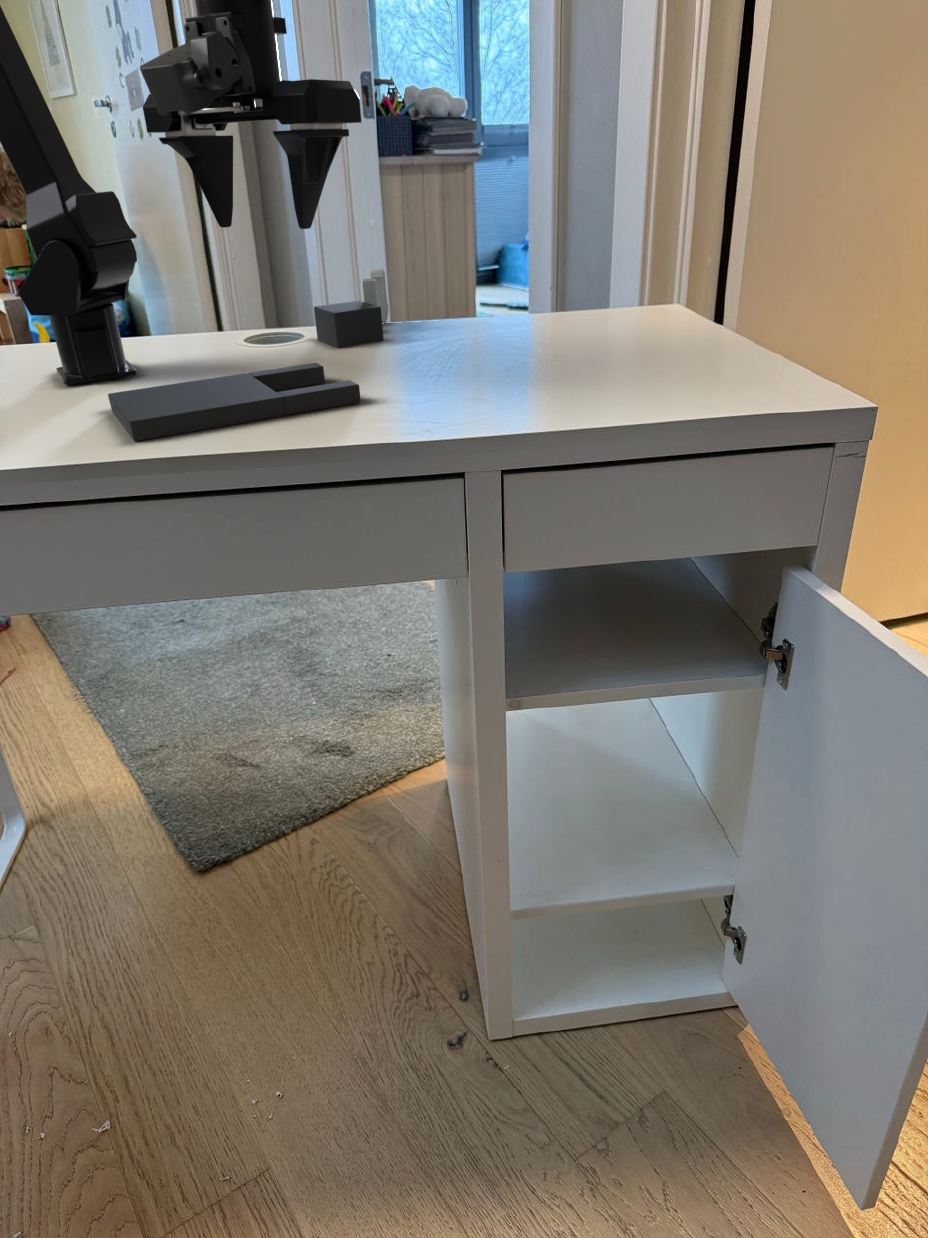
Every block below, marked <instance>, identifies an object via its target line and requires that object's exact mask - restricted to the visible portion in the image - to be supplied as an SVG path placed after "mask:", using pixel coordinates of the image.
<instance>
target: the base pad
mask: <svg viewBox="0 0 928 1238" xmlns="http://www.w3.org/2000/svg"><path fill="white" fill-rule="evenodd" d="M325 379H326V378H325V369H324V365H322V364H320V363H317V362H311V363H305V364H298V365H292V366H285V367H278V368H271V369H264V370H258V371H251V372H245V373H237V374H232V375H223V376H218V377H211V378H204V379H197V380H191V381H184V382H176V383H171V384H164V385H163V384H162V385H156V386H150V387H143V388H136V389H130V390H124V391H123V390H122V391H117V392H110V393H108V394H107V397H108V400H109V405H110V409H111V412H112V414H114V416H115V417H116V419H117V420H118V421H119V423H120V424H121V426H122V427H123V428H124V429H125V431H126V432H127V434H128V435H129V436H130V438H131V439H132V440H133V442H140V441H141V442H142V441H145V440H146V441H147V440H153V439H157V438H158V439H159V438H163V437H169V436H176V435H181V434H182V435H183V434H187V433H193V432H198V431H204V430H210V429H216V428H222V427H227V426H234V425H240V424H244V423H245V424H246V423H250V422H251V423H252V422H256V421H257V422H258V421H262V420H268V419H273V418H279V417H285V416H291V415H292V416H293V415H297V414H303V413H309V412H315V411H320V410H326V409H331V408H338V407H343V406H350V405H355V404H361V402H362V401H361V400H362V399H361V392H360V391H361V390H360V384H359V383H357V382H355V381H353V380H344V381H338V382H332V383H326V380H325Z"/></svg>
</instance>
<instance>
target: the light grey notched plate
mask: <svg viewBox="0 0 928 1238" xmlns="http://www.w3.org/2000/svg"><path fill="white" fill-rule="evenodd" d="M361 283H362V292H363V302H365V303H369V304H372V305H376V306H380V307H381V315H382V324H386V323H387V321H388V317H389V304H388V296H387V285H386V284H387V283H386V273H385V270H384V269H383V268H374V269H371V271H370V278H363V280H362V282H361Z"/></svg>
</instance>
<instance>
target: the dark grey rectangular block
mask: <svg viewBox="0 0 928 1238" xmlns="http://www.w3.org/2000/svg"><path fill="white" fill-rule="evenodd" d="M313 311H314V321H315V330H316V338H317V341H319V342H321V343H324V344H327V345H328V346H329V345H330V346H332V347H334V348H337V349H341V348H346V347H354V346H360V345H366V344H371V343H372V344H373V343H378V342H383V341H384V329H383V328H384V327H383V323H382V315H381V307H380V306H376V305H372V304H369V303H365V302H364V301H360V300H353V301H348V302H347V301H346V302H339V303H331V304H324V305H315V306H313Z"/></svg>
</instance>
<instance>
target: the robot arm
mask: <svg viewBox="0 0 928 1238" xmlns="http://www.w3.org/2000/svg"><path fill="white" fill-rule="evenodd" d="M194 5H195V12H196V16H192V17H186V18H185V23H184V26H183V29H184V30H183V31H184V36H185V43H184V44H183V43H182V44H181V45H179V46H177V47H174V48H172V49H170V50H167V51H166V52H164V53H162V54H160V55H158V56H156V57H154V58H152V59H150V60H148V61H146V62H145V63H143V64H140V66H139V70H140V73H141V75H142V78H143V80H144V82H145V84H146V86H147V89H148V92H149V94H148V96H147V97H146V99H145V101H144V103H143V105H142V111H143V112H142V113H143V117H144V122H145V127H146V132H147V134H155V133H156V134H160V133H163V134H164V133H165V134H164V135H165V137H161V136H160V137H158V140H159V142H160V143H161V144H162V145H168V146H169V147H170V148H171V149H173V150H174V151H175V152H176V153H177V154H178V155H180V156H181V157H182V158H184V161H185V162H186V163H187V165H188V166H189V168H190V170H191V172H192V173H193V175H194V177H195V179H196V181H197V183H198V185H199V186H200V189H201V191H202V193H203V195H204V197H205V199H206V201H207V204H208V206H209V208H210V210H211V212H212V214H213V217H214V218H215V220H216V222H217V224H218V227H220V228H223V229H224V228H230V227H232V225H233V213H234V135H217V132H220V131H221V132H224V131H225V130H226V128H227V125H228V124H235V123H249V122H264V121H265V122H266V121H278V122H279V123H280V125H281V126H283V125H284V126H285V125H287V126H288V125H289V129H290V130H288V129H287V130H273V131H272V134H273V136H274V137H275V140H276V141H277V142H278V145H280V147H281V148H282V150H283V152H284V153H285V155H286V157H287V165H288V171H289V179H290V185H291V193H292V199H293V207H294V212H295V216H296V221H297V224H298V228H299V229H300V230H308V229H311V227H312V226H313V222H314V220H315V215H316V214H317V209H318V206H319V202H320V200H321V197H322V194H323V190H324V187H325V183H326V180H327V178H328V174H329V171H330V169H331V166H332V164H333V162H334V159H335V157H336V154H337V151H338V149H339V147H340V144H341V142H342V140H343V138H346V137H350V133H351V132H350V128H344V125H345V124H346V125H347V124H360V123H362V111H361V100H360V96H359V94H358V92H357V91H356V90H355V88H354V86H353V85H352V83H351V82H350V80H335V79H317V78H310V79H298V80H285V79H282V76H281V67H280V59H279V49H278V41H277V36H280V35H286V34H288V33H287V31H288V30H287V23H286V18H285V17H279V16H275V15H274V7H273V6H274V5H273V1H272V0H194ZM256 100H261V103H262V104H261V105H262V106H256ZM234 104H239V105H235V106H234ZM0 145H1V147H2V149H3V152H4V153H5V155H6V157H7V159H8V161H9V163H10V166H11V167H12V169H13V171H14V173H15V176H16V177H17V180H18V181H19V183H20V186H21V187H22V189H23V192H24V196H25V219H26V220H25V225H26V227H25V230H26V234H27V236H28V239H29V242H30V245H31V248H32V251H33V253H34V257H35V259H36V260H35V261H34V264H33V265H32V267H31V268H30V270H29V272H28V273H27V276H26V277H25V279H24V281H23V282H22V284H21V287H20V288H19V290H18V295H19V297H20V299H21V301H22V303H23V305H24V306H25V308H26V310H27V311H28V313H29V315H31V316H36V317H37V316H39V317H40V316H48V317H49V321H50V324H51V328H52V332H53V336H54V339H55V343H56V344H55V345H56V348H57V352H58V355H59V359H60V364H61V366H58V367H56V373H57V374H58V377H59V378H60V380H61V381H62V383H63V385H75V384H81V383H82V384H83V383H89V382H90V383H91V382H98V381H104V380H110V379H118V378H119V379H120V378H125V377H132V376H137V375H138V373H137V369H136V368H135V367H134V366H133V365H132V364H131V363H130V362H129V361H128V360H127V359H126V356H125V351H124V346H123V341H122V337H121V334H120V329H119V324H118V319H117V315H116V311H115V306H114V304H115V303H118V302H125V301H127V300H128V296H129V288H130V287H129V286H130V279H131V278H132V275H133V274H134V271H135V266H136V263H137V261H138V256H137V250H136V246H135V243H134V242H133V240H135V239H137V238H138V235H137V233H135V231H134V230H133V229H132V228H131V227H130V225H129V224H128V222H127V220H126V217H125V215H124V212H123V208H122V206H121V205H122V204H121V202H120V200H119V198H118V196H117V195H116V193H115V192H114V191H112V190H111V191H110V190H109V191H99V192H97V191H96V190H95V189H94V188H93V187H92V186H91V185H90V184H89V183H88V182H87V181H86V180H85V179H84V178H83V176H82V175H81V174H80V172H79V170H78V168H77V166H76V163H75V161H74V159H73V157H72V155H71V153H70V150H69V148H68V146H67V144H66V142H65V140H64V138H63V136H62V133H61V132H60V129H59V127H58V125H57V123H56V121H55V119H54V116H53V115H52V111H51V110H50V108H49V106H48V104H47V101H46V100H45V98H44V95H43V93H42V91H41V89H40V87H39V84H38V82H37V80H36V78H35V76H34V74H33V72H32V70H31V67H30V65H29V63H28V61H27V59H26V57H25V55H24V52H23V50H22V49H21V46H20V44H19V42H18V40H17V37H16V35H15V34H14V32H13V29H12V27H11V25H10V22H9V21H8V19H7V17H6V14H5V13H4V10H3V8H2V6H1V5H0Z"/></svg>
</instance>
